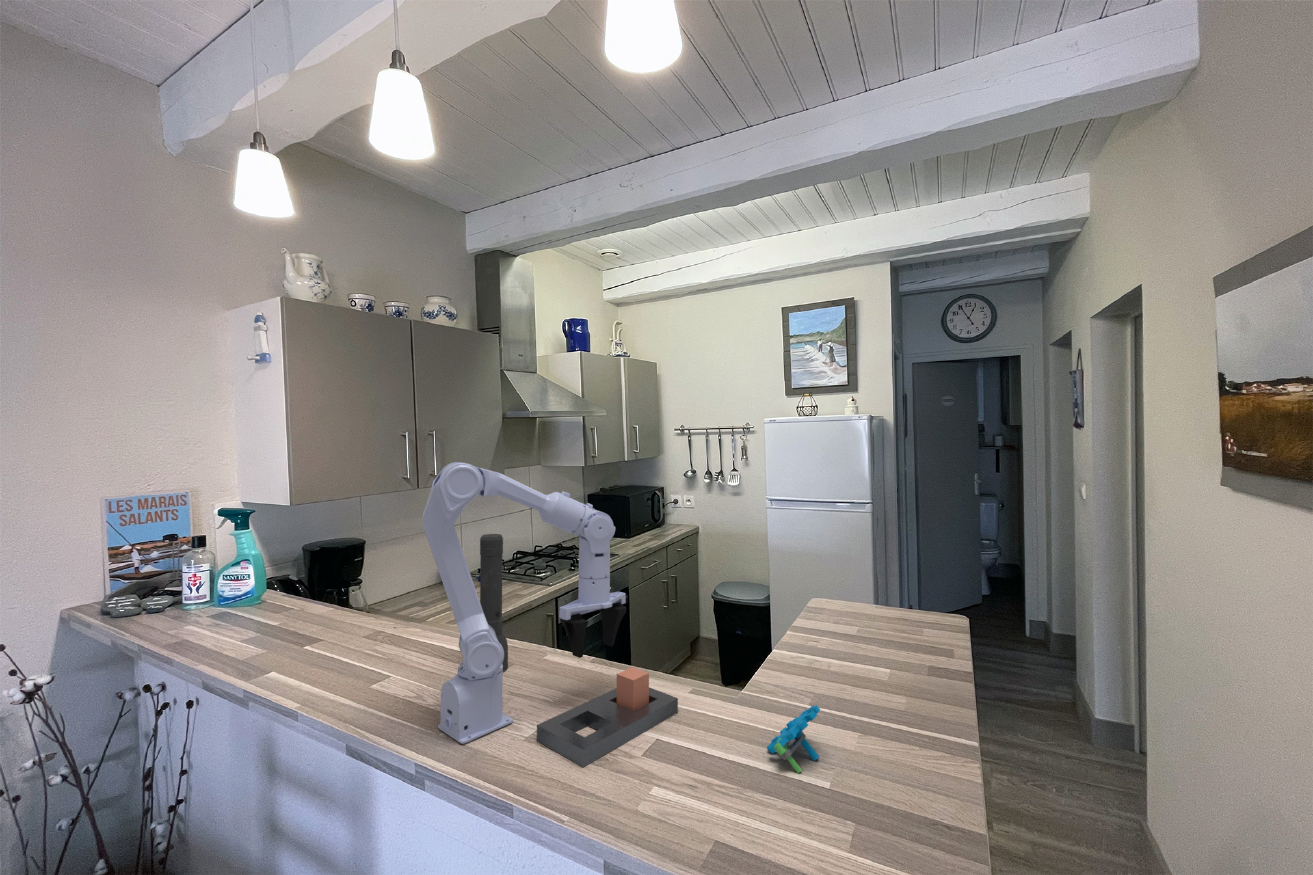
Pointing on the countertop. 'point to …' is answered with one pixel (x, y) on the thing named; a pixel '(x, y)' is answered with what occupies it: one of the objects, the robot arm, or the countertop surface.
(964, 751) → the countertop surface
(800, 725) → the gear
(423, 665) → the countertop surface
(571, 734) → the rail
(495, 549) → the flashlight
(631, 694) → the square block
